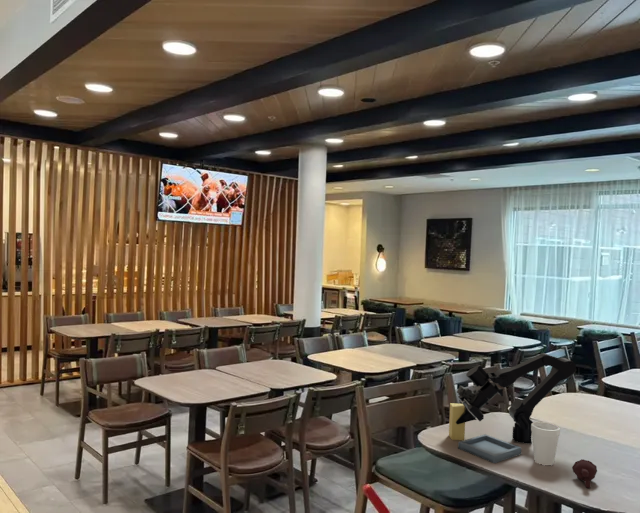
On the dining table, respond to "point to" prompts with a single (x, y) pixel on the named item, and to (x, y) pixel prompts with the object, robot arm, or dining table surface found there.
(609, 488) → the dining table surface
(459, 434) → the block
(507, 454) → the tray
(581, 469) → the icecream
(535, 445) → the foam cup
